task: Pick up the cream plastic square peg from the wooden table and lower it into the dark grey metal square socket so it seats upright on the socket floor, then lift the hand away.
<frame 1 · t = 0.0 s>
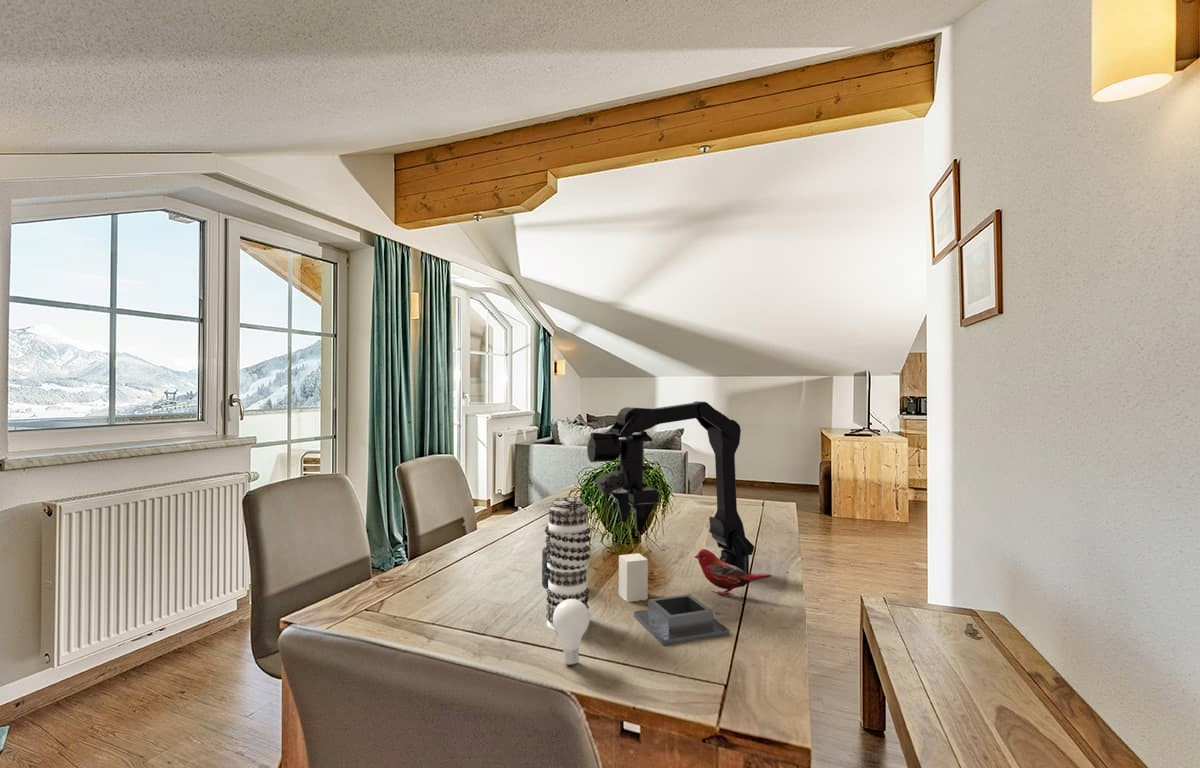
hand: (631, 526, 132), 15 cm above the table, tool pointing down, fingers open, 9 cm apart
square socket: (679, 625, 112), on the table
square peg: (633, 597, 127), on the table
pill bottle: (554, 586, 134), on the table
lightbulb: (571, 665, 96), on the table
decorative bird figurine: (731, 597, 127), on the table
decorative candle: (567, 624, 112), on the table
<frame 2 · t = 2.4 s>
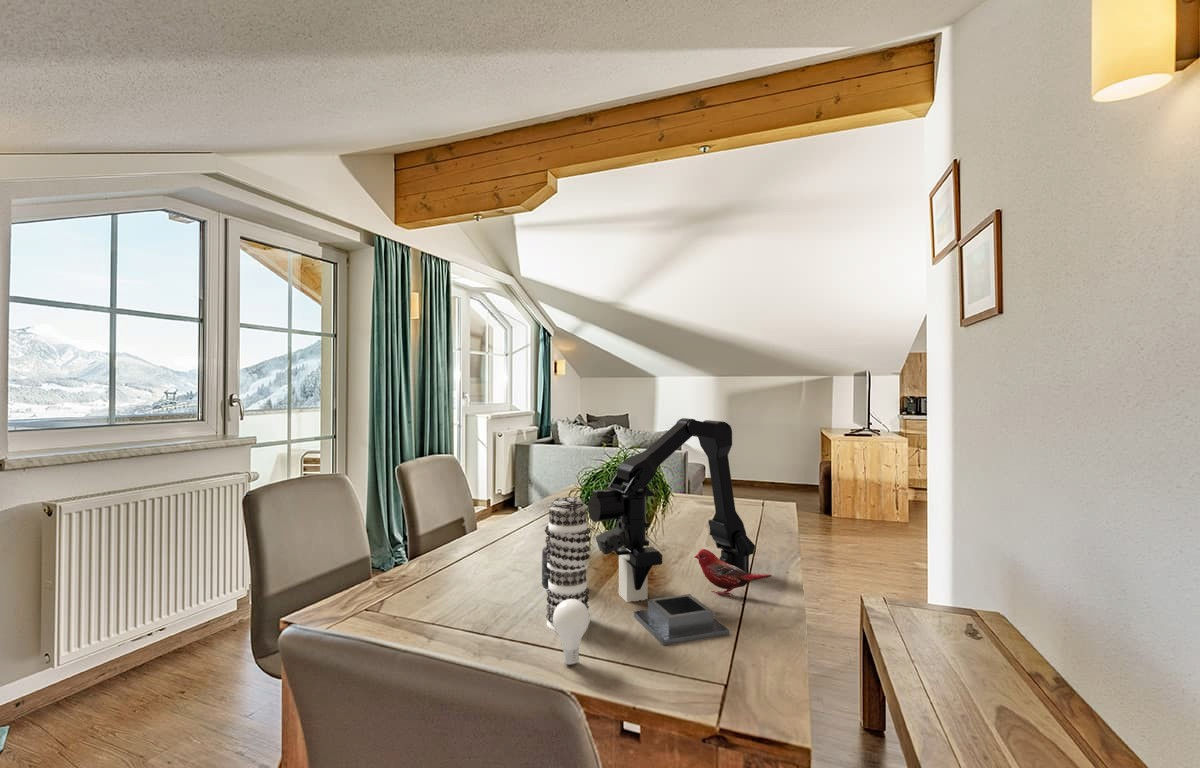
hand: (633, 585, 127), 3 cm above the table, tool pointing down, fingers closed on square peg, 5 cm apart
square peg: (632, 597, 127), on the table, touching gripper
everything else where it was.
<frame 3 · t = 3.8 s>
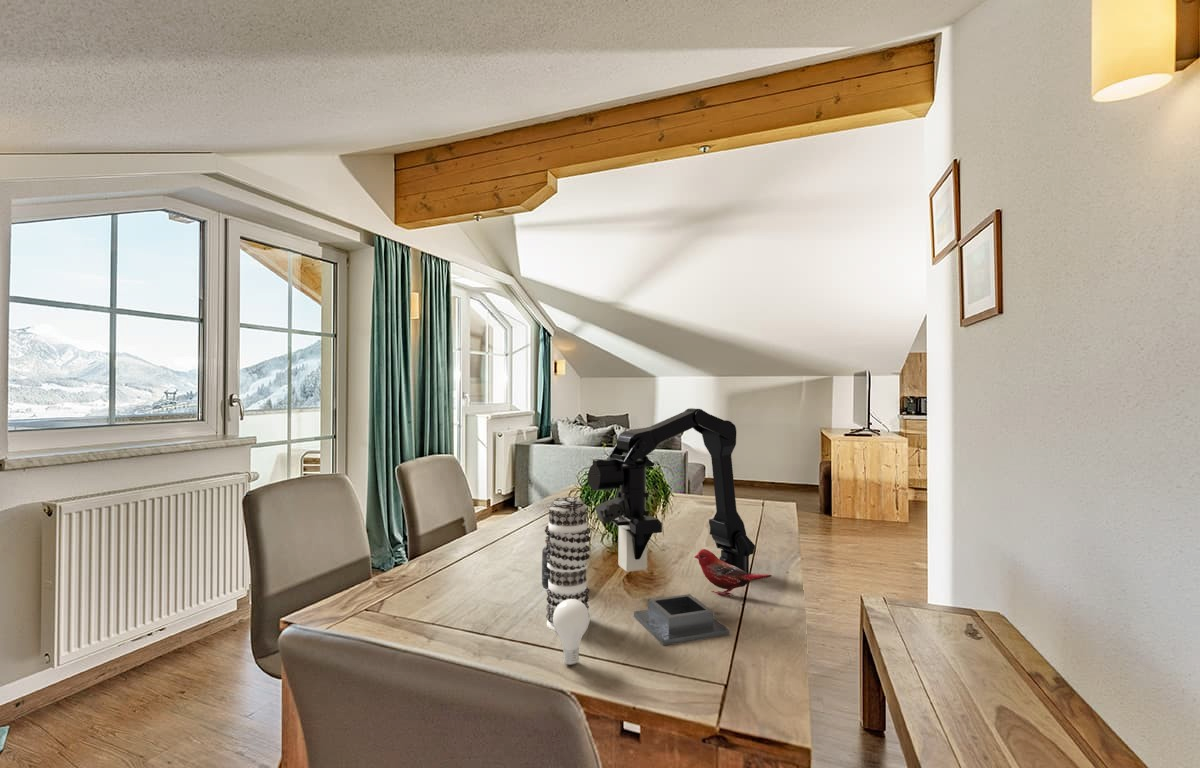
hand: (632, 555, 127), 9 cm above the table, tool pointing down, fingers closed on square peg, 5 cm apart
square peg: (632, 567, 127), point 7 cm above the table, touching gripper
everything else where it was.
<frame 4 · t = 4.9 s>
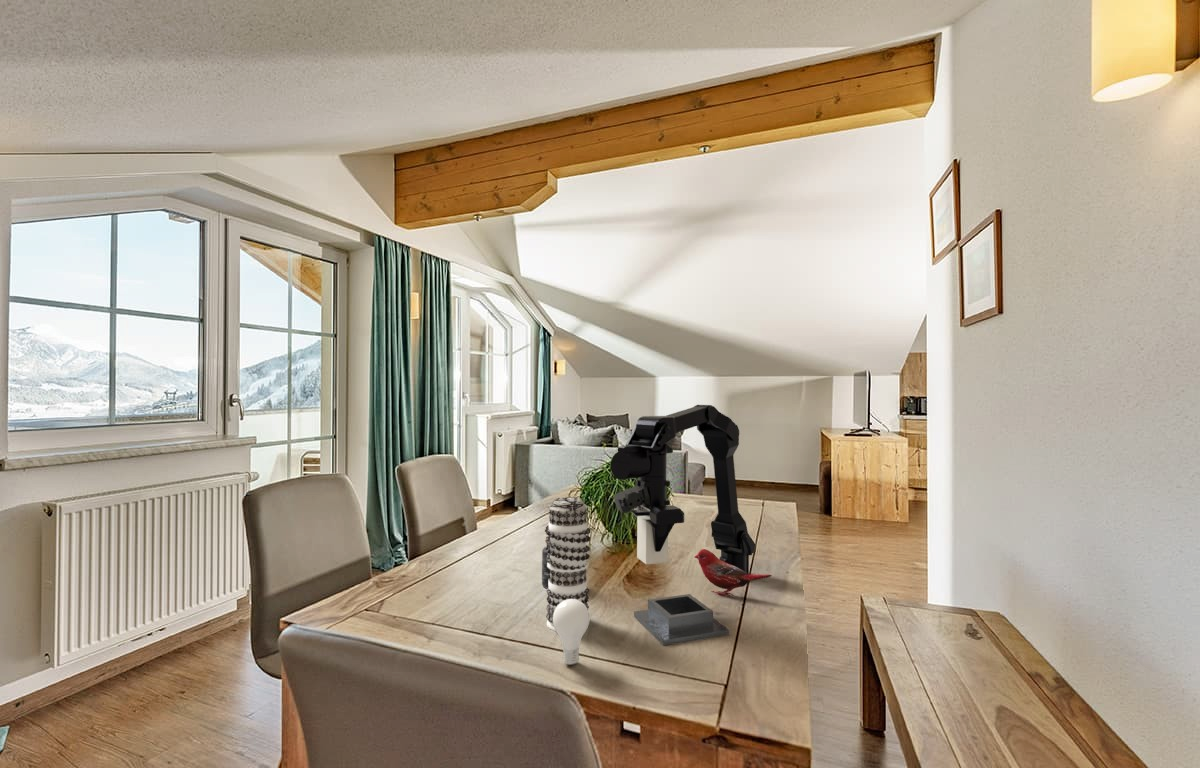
hand: (652, 548, 120), 13 cm above the table, tool pointing down, fingers closed on square peg, 5 cm apart
square peg: (652, 559, 120), point 11 cm above the table, touching gripper
everything else where it was.
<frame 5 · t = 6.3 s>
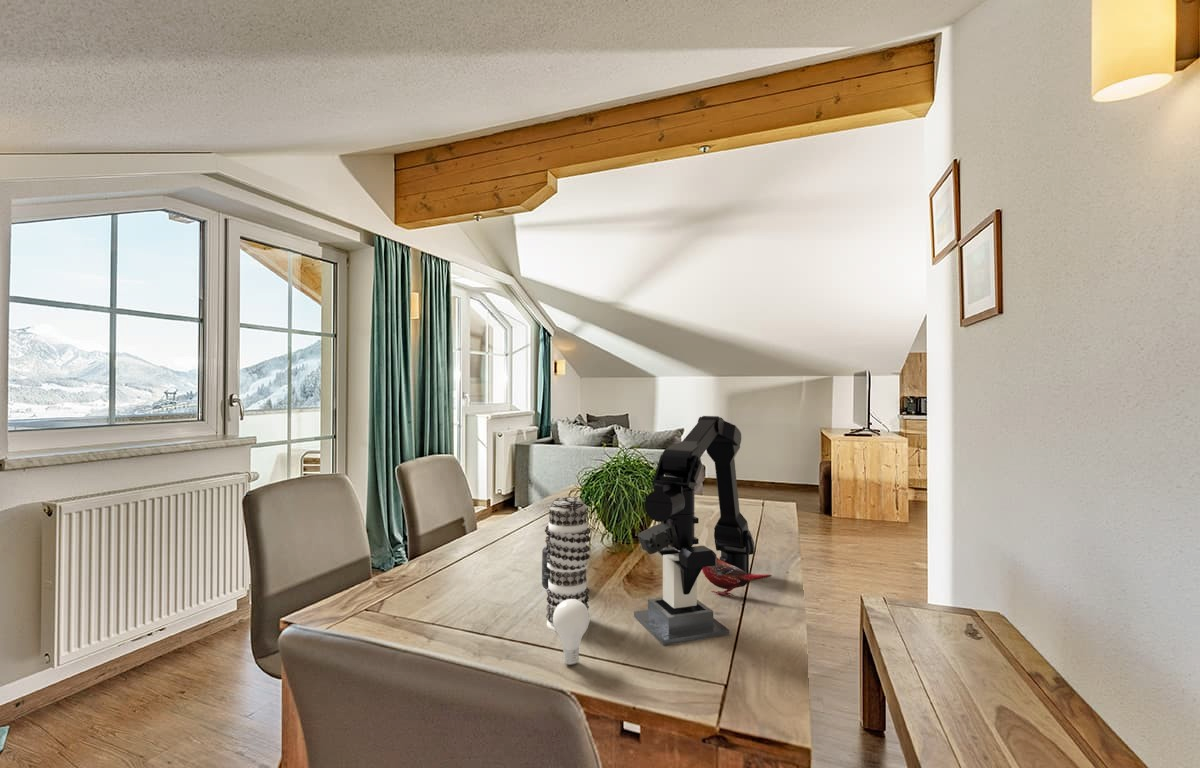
hand: (679, 589, 112), 7 cm above the table, tool pointing down, fingers closed on square peg, 5 cm apart
square peg: (679, 602, 112), point 5 cm above the table, touching gripper
everything else where it was.
when the fingers open (5 cm above the table, at t = 7.5 s): square peg drops 1 cm, resting on square socket.
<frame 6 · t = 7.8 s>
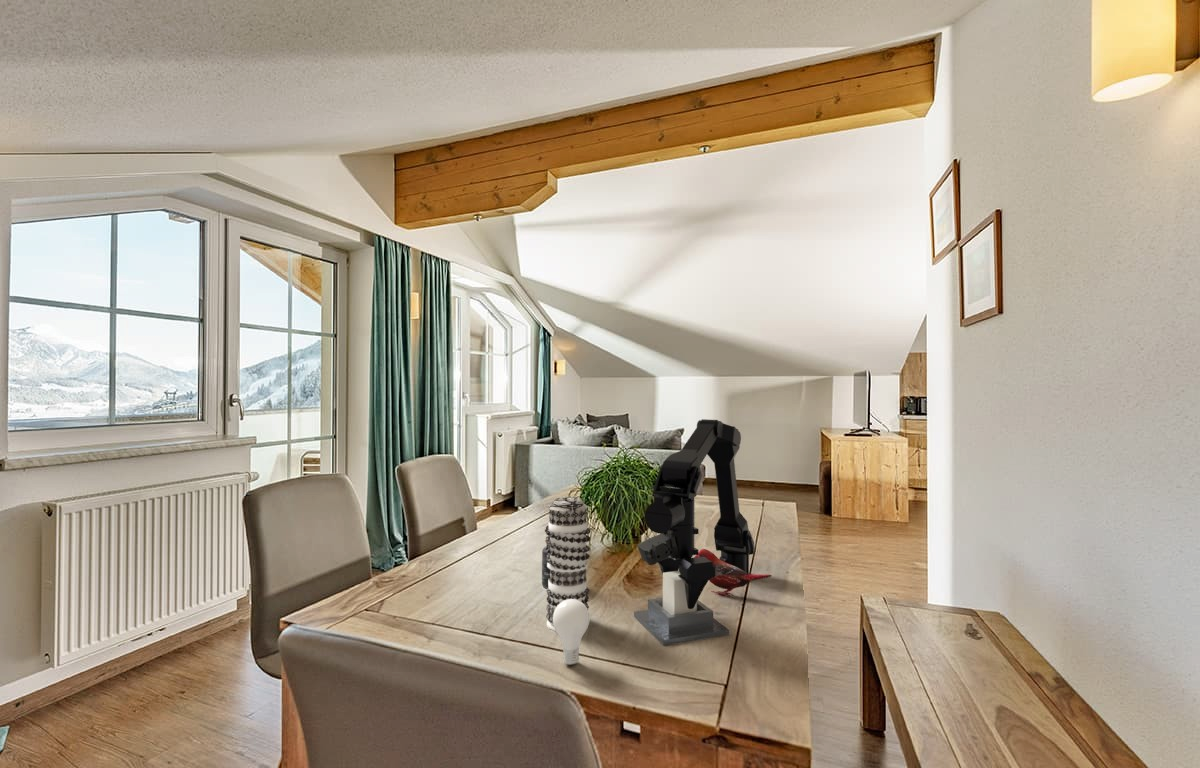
hand: (679, 600, 112), 5 cm above the table, tool pointing down, fingers open, 9 cm apart
square peg: (679, 620, 112), point 1 cm above the table, touching square socket
everything else where it was.
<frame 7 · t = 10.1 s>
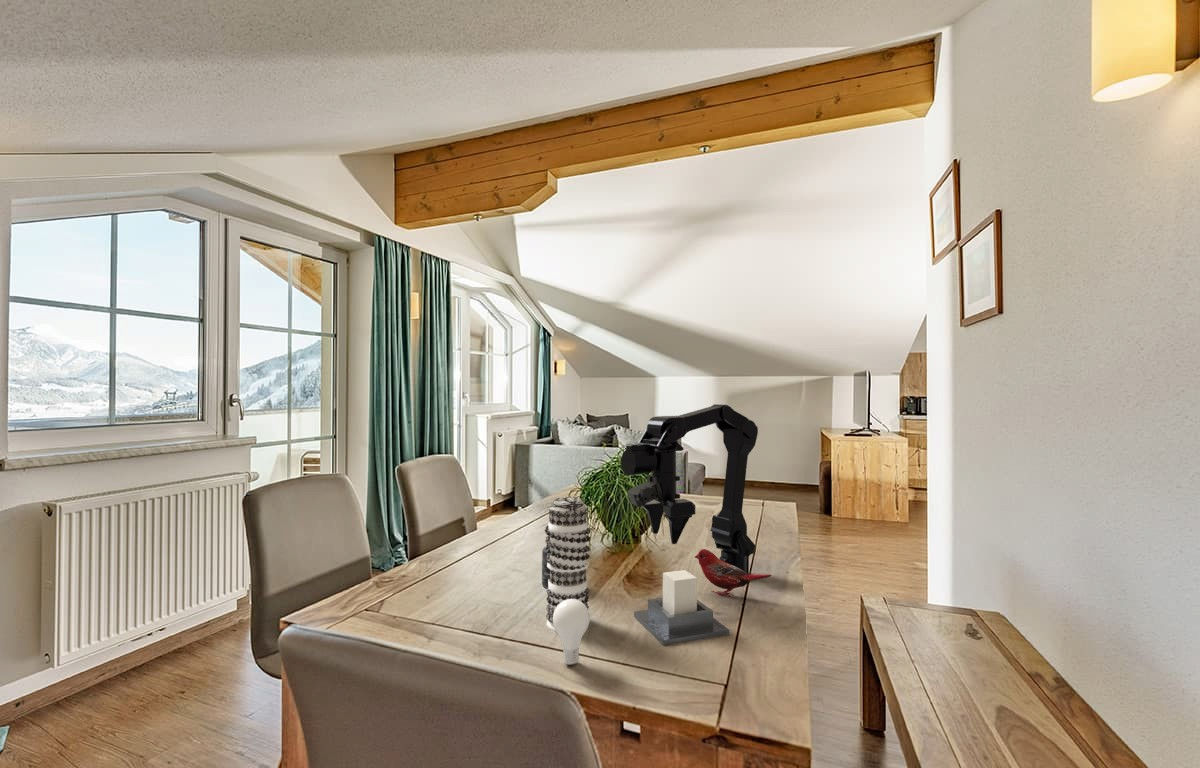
hand: (664, 538, 129), 13 cm above the table, tool pointing down, fingers open, 9 cm apart
nothing on the table moved.
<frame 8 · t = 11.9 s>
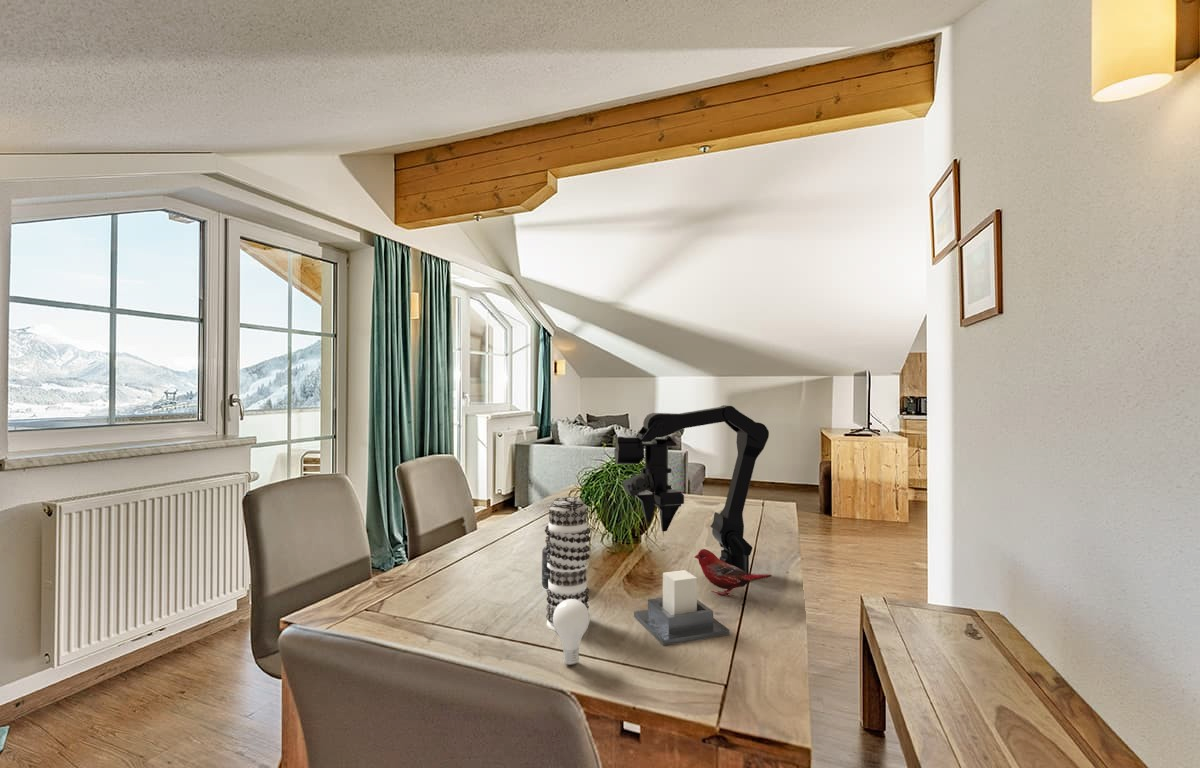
hand: (656, 526, 139), 13 cm above the table, tool pointing down, fingers open, 9 cm apart
nothing on the table moved.
at the end: square peg 0.0 cm off-centre on the square socket, point 1.0 cm above the square socket's base; square peg tilted 0°; the gripper is holding nothing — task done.
